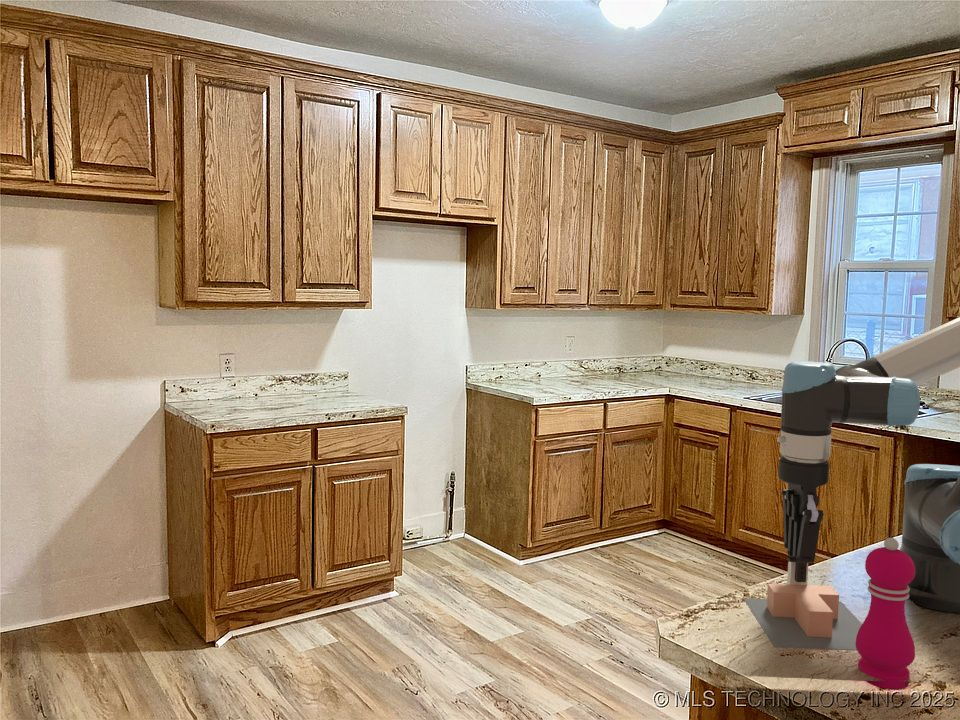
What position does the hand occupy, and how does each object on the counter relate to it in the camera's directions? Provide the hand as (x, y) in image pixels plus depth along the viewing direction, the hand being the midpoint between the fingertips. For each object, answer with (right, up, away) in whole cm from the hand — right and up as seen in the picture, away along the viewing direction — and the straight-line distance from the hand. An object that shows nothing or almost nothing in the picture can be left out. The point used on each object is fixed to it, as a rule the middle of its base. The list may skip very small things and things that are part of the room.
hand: (796, 597), depth 124 cm
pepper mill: (+4, -5, -20) cm, 21 cm away
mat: (0, -3, -6) cm, 6 cm away
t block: (0, -2, -6) cm, 6 cm away
